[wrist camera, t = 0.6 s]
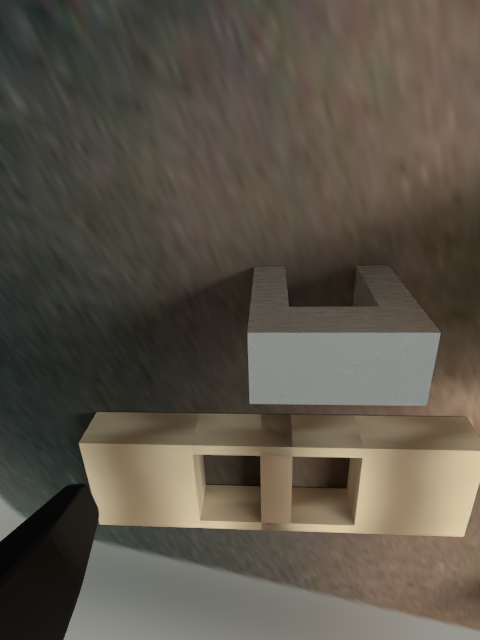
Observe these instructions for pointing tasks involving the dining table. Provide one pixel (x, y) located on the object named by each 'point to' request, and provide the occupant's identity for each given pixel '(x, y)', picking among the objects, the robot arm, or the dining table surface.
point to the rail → (284, 472)
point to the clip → (340, 344)
